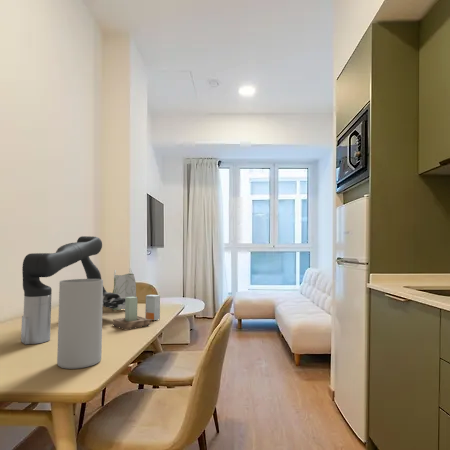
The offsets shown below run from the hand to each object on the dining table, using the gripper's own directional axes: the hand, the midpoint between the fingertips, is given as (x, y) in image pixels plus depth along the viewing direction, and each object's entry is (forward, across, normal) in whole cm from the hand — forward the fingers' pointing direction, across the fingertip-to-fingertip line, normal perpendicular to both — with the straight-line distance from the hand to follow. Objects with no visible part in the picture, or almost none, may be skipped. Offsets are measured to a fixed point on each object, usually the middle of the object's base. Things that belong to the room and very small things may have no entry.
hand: (124, 303), depth 164 cm
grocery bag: (-47, +21, +10) cm, 52 cm away
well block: (+8, 0, +9) cm, 12 cm away
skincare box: (+2, +14, +9) cm, 17 cm away
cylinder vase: (+45, -36, +9) cm, 58 cm away
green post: (+7, 0, +8) cm, 11 cm away
